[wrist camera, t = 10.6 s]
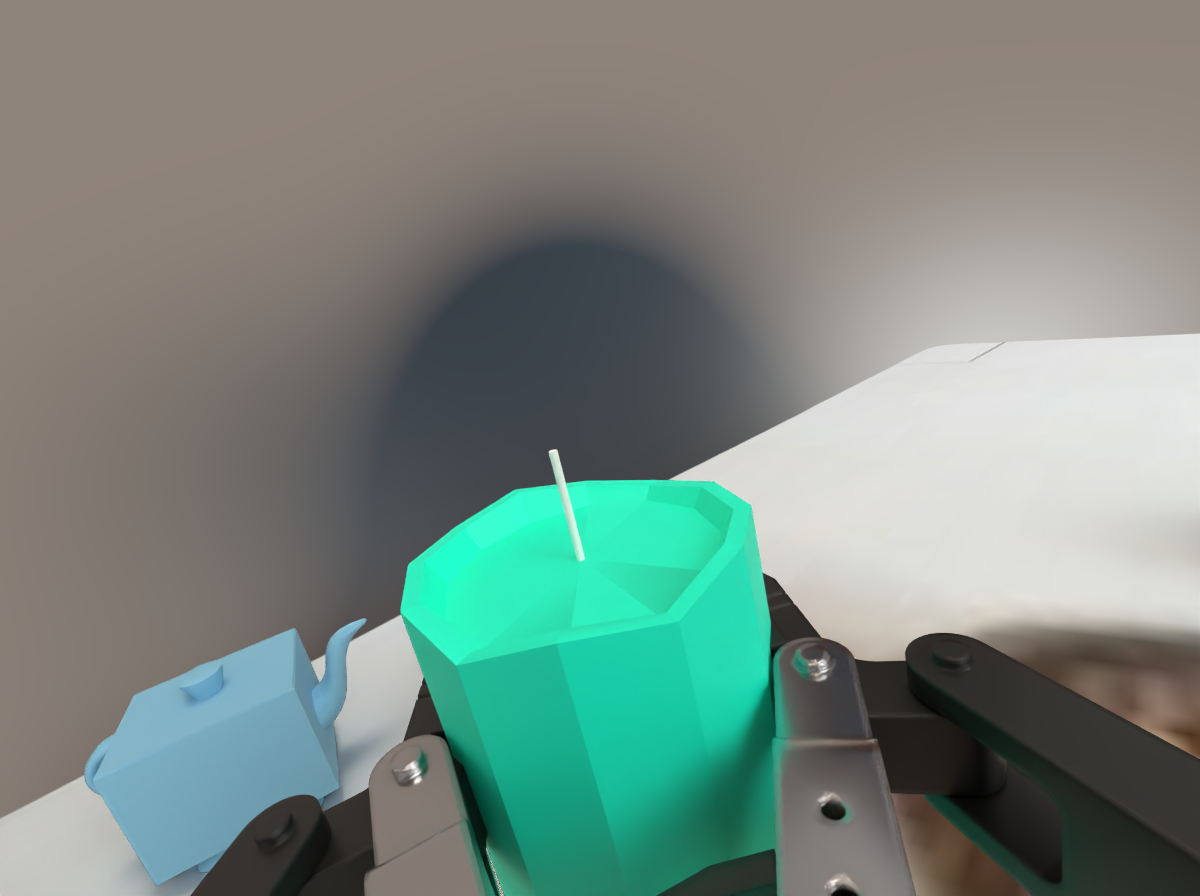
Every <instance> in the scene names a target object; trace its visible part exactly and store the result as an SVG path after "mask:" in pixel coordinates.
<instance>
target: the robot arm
mask: <svg viewBox="0 0 1200 896" xmlns="http://www.w3.org/2000/svg"><path fill="white" fill-rule="evenodd" d="M763 579H764V585H765V591H766V597H767V603H768V609H769V615H770V621H771V633H770V651H771V656H772V662H773V688H774V696H775V720H776V738H774V737H773V739H772V755H773V785H774V815H775V845H776V852H775V850H774V849H770V850H767V851H763V852H759V853H755V854H752V855H748V856H744V857H740V858H736V859H733V860H729V861H725V862H721V863H717V864H714V865H710V866H708V867H706V868H704V869H702V870H701V871H699V872H697V873H695V874H694V875H692V876H690V877H688V878H687V879H685V880H683V881H681V882H680V883H678V884H676V885H674V886H673V887H671V888H669V889H667V890H666V891H664V892H662V893H660V894H658V895H657V896H916V893H915V889H914V884H913V880H912V876H911V872H910V868H909V864H908V860H907V856H906V852H905V848H904V844H903V840H902V836H901V832H900V828H899V823H898V819H897V815H896V811H895V807H894V803H893V799H892V795H891V793H904V794H922V795H923V796H924V798H925V799H926V800H927V801H928V802H929V803H930V804H931V805H932V806H933V807H934V808H935V809H936V810H937V811H938V812H940V813H941V814H942V815H943V816H944V817H945V818H946V819H947V820H949V821H950V822H951V823H952V824H953V825H954V826H955V827H956V828H957V829H959V830H960V831H961V832H962V833H963V834H964V835H965V836H966V837H967V838H969V839H970V840H971V841H972V842H973V843H974V844H975V845H976V846H978V847H979V848H980V849H981V850H982V851H983V852H984V853H985V854H986V855H988V856H989V857H990V858H991V859H992V860H993V861H994V862H995V863H997V864H998V865H999V866H1000V867H1001V868H1002V869H1003V870H1004V871H1005V872H1007V873H1008V874H1009V875H1010V876H1011V877H1012V878H1013V879H1014V880H1016V881H1017V882H1018V883H1019V884H1020V885H1021V886H1022V887H1023V888H1024V889H1026V890H1027V891H1028V892H1029V893H1030V894H1031V895H1032V896H1200V759H1198V758H1196V757H1194V756H1193V755H1191V754H1189V753H1187V752H1185V751H1183V750H1181V749H1180V748H1178V747H1176V746H1174V745H1172V744H1170V743H1168V742H1167V741H1165V740H1163V739H1161V738H1159V737H1157V736H1155V735H1154V734H1152V733H1150V732H1148V731H1146V730H1144V729H1142V728H1141V727H1139V726H1137V725H1135V724H1133V723H1131V722H1129V721H1128V720H1126V719H1124V718H1122V717H1120V716H1118V715H1116V714H1115V713H1113V712H1111V711H1109V710H1107V709H1105V708H1103V707H1102V706H1100V705H1098V704H1096V703H1094V702H1092V701H1091V700H1089V699H1087V698H1085V697H1083V696H1081V695H1079V694H1078V693H1076V692H1074V691H1072V690H1070V689H1068V688H1066V687H1065V686H1063V685H1061V684H1059V683H1057V682H1055V681H1053V680H1052V679H1050V678H1048V677H1046V676H1044V675H1042V674H1040V673H1039V672H1037V671H1035V670H1033V669H1031V668H1029V667H1027V666H1026V665H1024V664H1022V663H1020V662H1018V661H1016V660H1014V659H1013V658H1011V657H1009V656H1007V655H1005V654H1003V653H1001V652H1000V651H998V650H996V649H994V648H992V647H990V646H988V645H987V644H985V643H983V642H981V641H979V640H976V639H974V638H971V637H968V636H964V635H959V634H953V633H934V634H928V635H924V636H921V637H919V638H917V639H915V640H913V641H912V642H911V643H910V644H909V645H908V647H907V648H906V652H905V657H906V661H881V662H875V661H862V660H857V659H854V657H853V655H852V653H851V652H850V651H849V650H848V649H847V648H846V647H844V646H843V645H841V644H839V643H837V642H835V641H832V640H829V639H824V638H821V636H820V635H819V634H818V633H817V631H816V630H815V629H814V628H813V626H812V625H811V624H810V623H809V621H808V620H807V619H806V618H805V616H804V615H803V614H802V612H801V611H800V610H799V609H798V607H797V606H796V605H795V604H793V601H792V600H791V599H790V597H789V596H788V595H787V594H785V591H784V590H783V588H782V587H781V586H780V585H779V583H778V582H777V581H776V580H775V579H774V578H772V577H770V576H768V575H766V574H764V573H763ZM487 834H488V832H487V830H486V827H485V824H484V821H483V819H482V816H481V813H480V810H479V808H478V805H477V802H476V799H475V797H474V794H473V791H472V788H471V786H470V783H469V780H468V777H467V775H466V772H465V769H464V766H463V765H462V764H461V763H460V762H459V761H458V760H457V759H455V758H454V757H453V754H452V752H451V749H450V746H449V743H448V741H447V738H446V735H445V732H444V730H443V727H442V724H441V722H440V719H439V716H438V713H437V711H436V708H435V705H434V703H433V700H432V697H431V694H430V692H429V689H428V686H427V683H426V681H425V678H423V681H422V686H421V688H420V691H419V694H418V700H416V703H415V707H414V710H413V713H412V716H411V719H410V722H409V725H408V729H407V732H406V735H405V738H404V741H403V742H402V743H400V744H398V745H397V746H395V747H394V748H392V749H391V750H390V751H389V752H388V753H386V754H385V755H384V756H383V757H382V758H381V759H380V761H379V762H378V763H377V764H376V766H375V767H374V769H373V771H372V773H371V775H370V779H369V788H367V789H366V790H364V791H363V792H361V793H359V794H357V795H355V796H353V797H351V798H349V799H347V800H345V801H344V802H342V803H340V804H338V805H336V806H334V807H332V808H330V809H328V810H326V811H323V809H322V807H321V805H320V803H319V801H318V800H317V798H315V797H314V796H311V795H305V794H302V795H295V796H291V797H288V798H286V799H283V800H281V801H279V802H277V803H275V804H273V805H272V806H270V807H268V808H267V809H265V810H264V811H262V812H261V813H260V814H258V815H257V816H256V817H255V818H254V819H252V820H251V821H250V822H249V823H248V824H247V825H246V826H245V828H244V829H243V830H242V831H241V832H240V833H239V835H238V836H237V837H236V839H235V840H234V841H233V842H232V844H231V845H230V846H229V847H228V849H227V850H226V851H225V852H224V854H223V855H222V856H221V858H220V859H219V860H218V861H217V863H216V864H215V865H214V866H213V868H212V869H211V870H210V871H209V873H208V874H207V875H206V877H205V878H204V879H203V880H202V882H201V883H200V884H199V885H198V887H197V888H196V889H195V890H194V892H193V893H192V894H191V896H500V892H499V889H498V886H497V882H496V879H495V876H494V872H493V869H492V865H491V862H490V859H489V856H488V854H487V851H486V843H487Z"/></svg>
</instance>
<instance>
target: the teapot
mask: <svg viewBox="0 0 1200 896" xmlns="http://www.w3.org/2000/svg"><path fill="white" fill-rule="evenodd" d="M365 622H366V619H361V620H358V621H355V622H353V623H350V624H348V625H346V626H345V627H343V628H341V629H340V630H338V631H337V632H336V633H335V634H334V635H333V636H332V637H331V639H330V641H329V642H328V645H327V648H326V670H325V674H324V677H323V679H322V681H321V682H319V680H318V678H317V676H316V673H315V671H314V669H313V667H312V664H311V662H310V660H309V658H308V655H307V653H306V651H305V649H304V646H303V644H302V642H301V640H300V637H299V635H298V633H297V631H296V629H295V628H293V629H290V630H288V631H285V632H283V633H281V634H278V635H276V636H274V637H271V638H268V639H266V640H264V641H261V642H259V643H257V644H254V645H252V646H249V647H247V648H245V649H242V650H240V651H237V652H235V653H233V654H230V655H228V656H226V657H223V658H221V659H218V660H216V661H211V662H207V663H204V664H202V665H199V666H197V667H195V668H193V669H192V670H190V671H189V672H187V673H185V674H183V675H180V676H178V677H176V678H173V679H171V680H168V681H166V682H164V683H161V684H159V685H157V686H154V687H152V688H150V689H147V690H145V691H143V692H140V693H138V694H136V695H134V696H133V699H132V700H131V703H130V705H129V707H128V709H127V711H126V713H125V715H124V717H123V719H122V721H121V723H120V725H119V727H118V729H117V731H116V733H115V734H113V735H112V736H110V737H108V738H107V739H105V740H104V741H103V742H102V743H101V744H99V746H98V747H97V748H96V749H95V750H94V751H93V753H92V755H91V756H90V758H89V760H88V762H87V764H86V768H85V773H84V778H85V782H86V784H87V786H88V787H89V788H90V789H91V790H92V791H94V792H95V793H97V794H99V795H101V796H102V798H103V800H104V801H105V803H106V805H107V806H108V808H109V810H110V811H111V813H112V814H113V816H114V818H115V819H116V821H117V823H118V824H119V826H120V828H121V829H122V831H123V833H124V834H125V836H126V837H127V839H128V841H129V842H130V844H131V846H132V847H133V849H134V851H135V852H136V854H137V856H138V857H139V859H140V860H141V862H142V864H143V865H144V867H145V869H146V870H147V872H148V874H149V875H150V877H151V879H152V880H153V882H154V883H155V885H156V886H157V885H159V884H161V883H163V882H165V881H167V880H169V879H171V878H172V877H174V876H176V875H178V874H180V873H182V872H184V871H186V870H187V869H189V868H191V867H193V866H195V865H197V864H198V870H199V871H200V872H209V871H210V870H211V869H212V868H213V866H214V865H215V864H216V863H217V861H218V860H219V859H220V858H221V856H222V855H223V854H224V852H225V851H226V850H227V849H228V847H229V846H230V845H231V844H232V842H233V841H234V840H235V839H236V837H237V836H238V835H239V833H240V832H241V831H242V830H243V829H244V828H245V826H246V825H247V824H248V823H249V822H250V821H251V820H252V819H254V818H255V817H256V816H257V815H258V814H260V813H261V812H262V811H264V810H265V809H267V808H268V807H270V806H272V805H273V804H275V803H277V802H279V801H281V800H283V799H286V798H288V797H291V796H295V795H302V794H305V795H311V796H314V797H315V798H317V800H318V801H319V803H320V805H321V806H322V804H323V801H324V796H326V795H328V794H329V793H331V792H333V791H335V790H337V789H339V788H340V784H339V773H338V762H337V750H336V740H335V728H334V720H335V719H336V717H337V716H338V714H339V713H340V711H341V709H342V707H343V704H344V701H345V698H346V691H347V673H346V653H347V649H348V645H349V643H350V641H351V639H352V637H353V635H354V634H355V633H356V632H357V631H358V630H359V628H361V627H362V626H363V624H364V623H365Z"/></svg>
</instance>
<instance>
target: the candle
mask: <svg viewBox="0 0 1200 896" xmlns="http://www.w3.org/2000/svg"><path fill="white" fill-rule="evenodd" d="M549 455H550V459H551V463H552V467H553V471H554V474H555V478H556V482H557V485H549V486H541V487H533V488H525V489H517V490H514V491H512V492H511V493H509V494H507V495H506V496H504V497H503V498H501V499H499V500H498V501H496V502H495V503H493V504H491V505H490V506H488V507H487V508H485V509H483V510H482V511H480V512H479V513H477V514H475V515H474V516H473V517H471V518H469V519H468V520H466V521H464V522H463V523H461V524H460V525H458V526H456V527H455V528H454V529H452V530H451V531H450V532H449V533H447V534H446V535H445V536H443V537H442V538H441V539H440V540H439V541H437V542H436V543H435V544H433V545H432V546H431V547H430V548H428V549H427V550H426V551H425V552H423V553H422V554H421V555H420V556H418V557H417V558H416V559H415V560H414V561H412V562H411V563H410V564H409V565H408V570H407V576H406V581H405V587H404V593H403V599H402V605H401V611H400V612H401V615H402V618H403V621H404V624H405V626H406V629H407V632H408V635H409V637H410V640H411V643H412V645H413V648H414V651H415V654H416V656H417V659H418V662H419V664H420V667H421V670H422V673H423V675H424V678H425V681H426V683H427V686H428V689H429V692H430V694H431V697H432V700H433V703H434V705H435V708H436V711H437V713H438V716H439V719H440V722H441V724H442V727H443V730H444V732H445V735H446V738H447V741H448V743H449V746H450V749H451V752H452V754H453V757H454V758H455V759H457V760H458V761H459V762H460V763H461V764H462V765H463V766H464V769H465V772H466V775H467V777H468V780H469V783H470V786H471V788H472V791H473V794H474V797H475V799H476V802H477V805H478V808H479V810H480V813H481V816H482V819H483V821H484V824H485V827H486V830H487V832H488V834H487V843H486V847H487V849H488V852H489V855H490V858H491V860H492V863H493V866H494V869H495V871H496V874H497V877H498V879H499V882H500V885H501V888H502V890H503V893H504V896H657V895H658V894H660V893H662V892H664V891H666V890H667V889H669V888H671V887H673V886H674V885H676V884H678V883H680V882H681V881H683V880H685V879H687V878H688V877H690V876H692V875H694V874H695V873H697V872H699V871H701V870H702V869H704V868H706V867H708V866H710V865H714V864H717V863H721V862H725V861H729V860H733V859H736V858H740V857H744V856H748V855H752V854H755V853H759V852H763V851H767V850H770V849H774V850H775V852H776V845H775V815H774V785H773V755H772V739H773V737H774V738H776V720H775V696H774V688H773V662H772V656H771V651H770V633H771V621H770V615H769V609H768V603H767V597H766V591H765V585H764V579H763V573H762V567H761V561H760V555H759V549H758V543H757V537H756V531H755V525H754V519H753V513H752V508H751V505H750V504H748V503H747V502H745V501H743V500H742V499H740V498H739V497H737V496H736V495H734V494H732V493H731V492H729V491H728V490H726V489H725V488H723V487H722V486H720V485H718V484H717V483H715V482H709V481H673V480H617V481H616V480H614V481H581V482H573V483H566V482H565V479H564V475H563V471H562V467H561V463H560V459H559V456H558V452H557V450H551V451H549Z"/></svg>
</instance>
